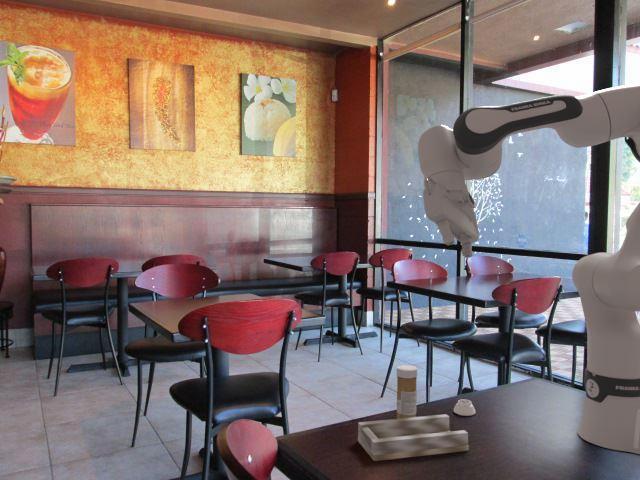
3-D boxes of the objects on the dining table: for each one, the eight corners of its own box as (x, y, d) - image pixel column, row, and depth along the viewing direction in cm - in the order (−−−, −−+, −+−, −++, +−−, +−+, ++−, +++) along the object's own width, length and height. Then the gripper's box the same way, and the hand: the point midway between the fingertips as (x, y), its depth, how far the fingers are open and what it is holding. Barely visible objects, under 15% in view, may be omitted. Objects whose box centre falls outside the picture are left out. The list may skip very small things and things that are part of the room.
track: (445, 431, 122) (445, 413, 122) (468, 450, 112) (468, 430, 112) (357, 440, 117) (357, 422, 117) (374, 461, 107) (374, 440, 107)
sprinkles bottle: (396, 422, 128) (397, 363, 127) (417, 423, 127) (417, 364, 126) (395, 429, 123) (395, 369, 123) (416, 431, 122) (417, 370, 122)
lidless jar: (470, 418, 130) (478, 412, 134) (471, 406, 130) (478, 400, 134) (450, 414, 133) (458, 408, 137) (450, 402, 133) (458, 396, 137)
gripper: (438, 168, 113) (452, 229, 107) (477, 203, 128) (491, 258, 122) (411, 180, 116) (422, 240, 110) (452, 213, 132) (464, 267, 126)
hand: (458, 250), depth 117 cm, fingers open, 8 cm apart
